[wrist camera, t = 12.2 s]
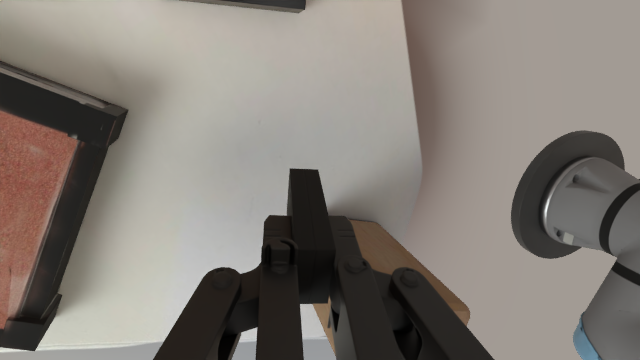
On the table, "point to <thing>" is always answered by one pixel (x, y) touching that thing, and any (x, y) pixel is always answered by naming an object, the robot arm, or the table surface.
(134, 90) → the table surface
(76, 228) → the book
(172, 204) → the table surface
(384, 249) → the wooden block
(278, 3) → the control block
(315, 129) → the table surface
